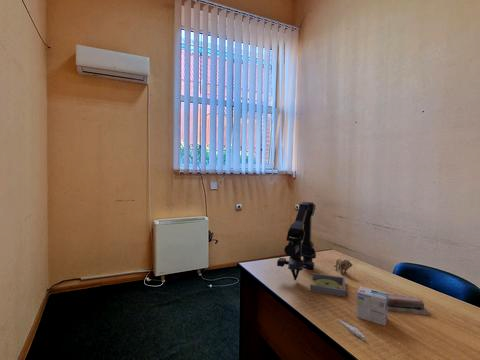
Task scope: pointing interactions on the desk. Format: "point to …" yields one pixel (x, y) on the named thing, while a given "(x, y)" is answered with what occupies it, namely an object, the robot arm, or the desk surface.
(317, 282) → the green speckled disc
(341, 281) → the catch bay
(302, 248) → the robot arm
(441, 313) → the desk surface
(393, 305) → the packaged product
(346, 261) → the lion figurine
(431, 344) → the desk surface
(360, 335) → the stylus pen
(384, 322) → the light bulb box
